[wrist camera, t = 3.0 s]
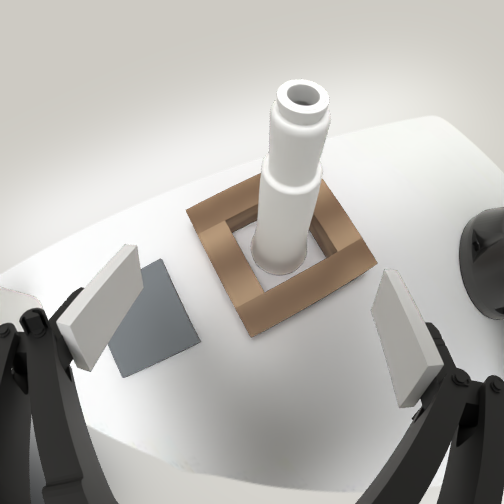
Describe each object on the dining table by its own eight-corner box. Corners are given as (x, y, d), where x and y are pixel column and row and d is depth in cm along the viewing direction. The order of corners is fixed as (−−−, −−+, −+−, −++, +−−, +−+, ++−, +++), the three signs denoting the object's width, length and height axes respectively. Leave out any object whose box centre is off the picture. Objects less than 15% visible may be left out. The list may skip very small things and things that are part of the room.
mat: (200, 341, 29) (199, 341, 29) (125, 377, 28) (122, 377, 28) (162, 259, 32) (160, 258, 31) (93, 298, 31) (90, 297, 30)
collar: (364, 272, 31) (377, 263, 27) (252, 337, 29) (250, 337, 26) (300, 172, 34) (303, 153, 31) (194, 224, 33) (185, 210, 29)
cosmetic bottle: (252, 220, 33) (236, 53, 12) (306, 223, 33) (359, 62, 12) (249, 274, 31) (223, 147, 10) (306, 276, 31) (385, 158, 10)
